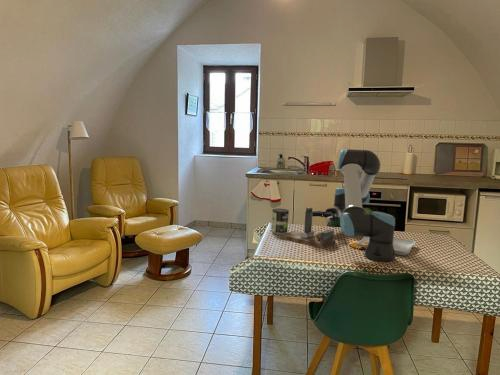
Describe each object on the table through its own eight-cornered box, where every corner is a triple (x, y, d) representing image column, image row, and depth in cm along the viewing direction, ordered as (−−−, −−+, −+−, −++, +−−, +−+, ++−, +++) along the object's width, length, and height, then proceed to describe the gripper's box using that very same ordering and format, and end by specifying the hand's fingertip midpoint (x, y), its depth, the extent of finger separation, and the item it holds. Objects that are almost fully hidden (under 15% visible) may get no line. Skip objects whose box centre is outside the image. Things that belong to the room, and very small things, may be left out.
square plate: (368, 238, 241) (369, 232, 240) (416, 247, 227) (416, 240, 226) (356, 249, 218) (356, 242, 217) (408, 259, 204) (408, 251, 203)
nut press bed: (335, 243, 226) (336, 229, 225) (323, 248, 215) (324, 234, 214) (293, 234, 243) (294, 221, 242) (281, 238, 232) (282, 224, 231)
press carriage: (314, 236, 231) (316, 207, 229) (306, 238, 224) (308, 209, 222) (308, 234, 234) (310, 206, 231) (300, 237, 227) (302, 208, 224)
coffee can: (290, 232, 247) (292, 210, 245) (281, 235, 239) (283, 212, 237) (277, 229, 254) (278, 207, 251) (267, 231, 245) (269, 209, 243)
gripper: (350, 222, 245) (335, 227, 228) (315, 215, 260) (298, 220, 243) (351, 210, 244) (336, 215, 227) (315, 204, 259) (299, 208, 242)
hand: (316, 218), depth 235 cm, fingers open, 13 cm apart
